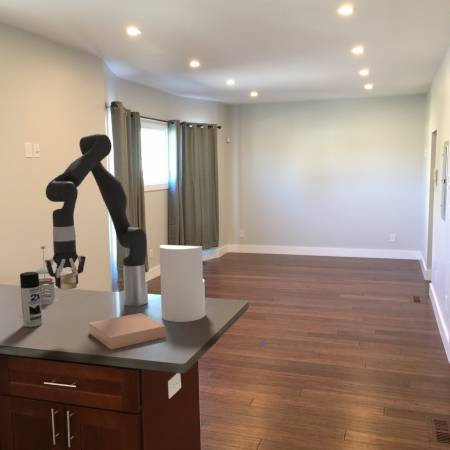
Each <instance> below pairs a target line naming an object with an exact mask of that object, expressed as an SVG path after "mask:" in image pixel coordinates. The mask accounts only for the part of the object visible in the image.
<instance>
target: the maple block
mask: <svg viewBox="0 0 450 450" xmlns="http://www.w3.org/2000/svg"><path fill="white" fill-rule="evenodd" d="M60 282H61V288H58V289H60V290H61V291H66V290H73V289H77V286H76V274H74V273H73V272H72V271H67V272H61V274H60Z"/></svg>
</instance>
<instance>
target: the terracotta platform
mask: <svg viewBox="0 0 450 450" xmlns="http://www.w3.org/2000/svg"><path fill="white" fill-rule="evenodd" d="M88 325H89V326H88V329H89V330H88V331H89V334H90V335H91V336H92V337H94V338H95V339H96V340H97V341H99V342H100V343H102V344H103V345H105V346H106V347H107V348H108V349H110V350H115V349H118V348H124V347H129V346H133V345H136V344H141V343H145V342H149V341H150V340H151V341H154V339H155V340H158V338H159V339H162V338H163V337H164V338H166V337H167V336H166V335H167V333H166V325H164V324H162V323H161V322H159V321H157V320H156V319H154V318H152V317H149V316H148V315H146V314H145V313H141V312H138V313H133V314H128V315H127V314H126V315H122V316H116V317H112V318H105V319H100V320H95V321H90V322H88ZM164 338H163V339H164Z"/></svg>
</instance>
